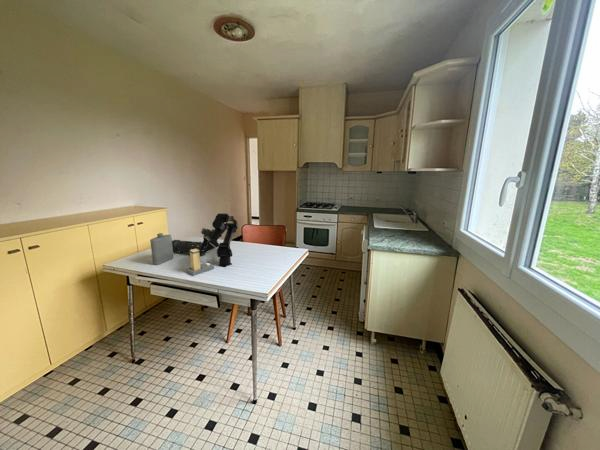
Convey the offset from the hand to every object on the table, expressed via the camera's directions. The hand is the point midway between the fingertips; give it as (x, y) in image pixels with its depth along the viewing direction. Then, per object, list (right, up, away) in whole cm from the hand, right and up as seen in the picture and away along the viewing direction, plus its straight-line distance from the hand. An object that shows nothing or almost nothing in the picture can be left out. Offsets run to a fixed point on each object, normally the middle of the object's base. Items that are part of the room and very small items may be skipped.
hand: (201, 250), depth 143 cm
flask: (-34, -10, +17) cm, 40 cm away
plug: (-4, -13, +1) cm, 14 cm away
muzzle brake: (-24, -7, +33) cm, 42 cm away
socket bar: (-2, -13, +3) cm, 14 cm away
